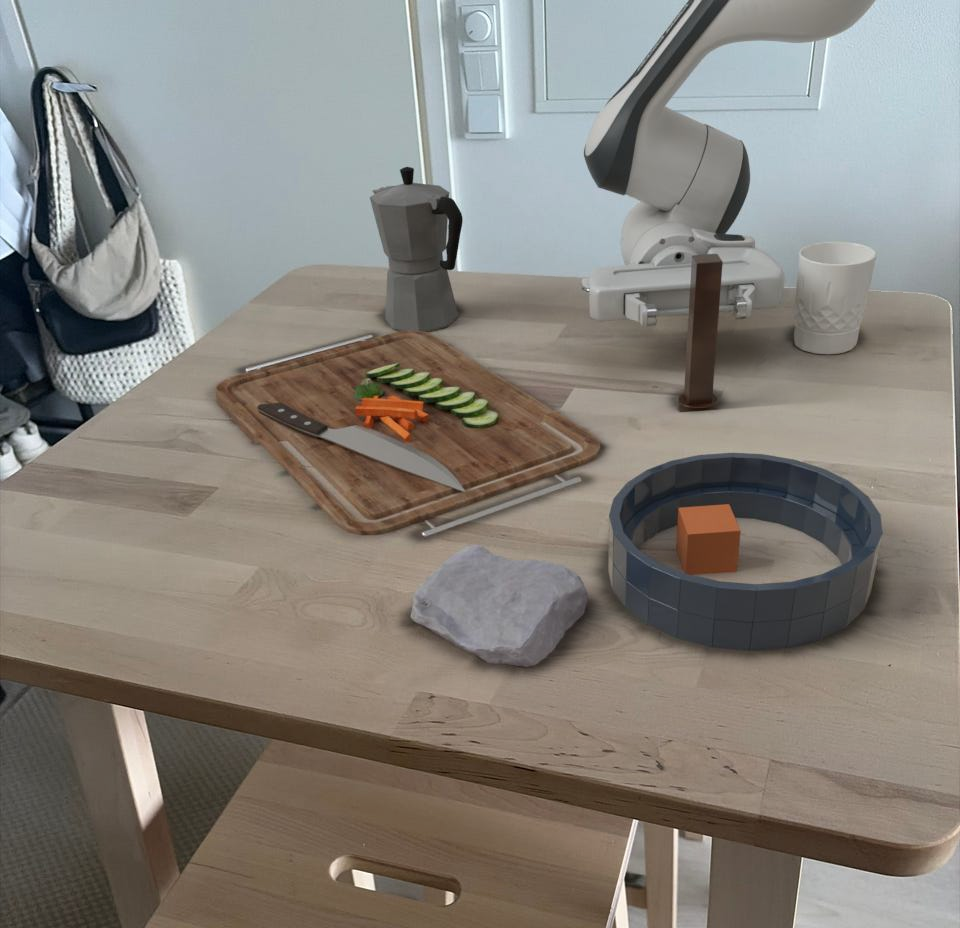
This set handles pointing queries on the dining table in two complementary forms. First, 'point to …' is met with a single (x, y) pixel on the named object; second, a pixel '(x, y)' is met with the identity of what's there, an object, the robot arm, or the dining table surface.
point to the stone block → (500, 605)
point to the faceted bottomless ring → (741, 606)
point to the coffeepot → (418, 252)
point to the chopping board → (401, 429)
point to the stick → (702, 334)
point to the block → (707, 539)
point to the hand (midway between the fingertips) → (696, 315)
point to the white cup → (831, 295)
